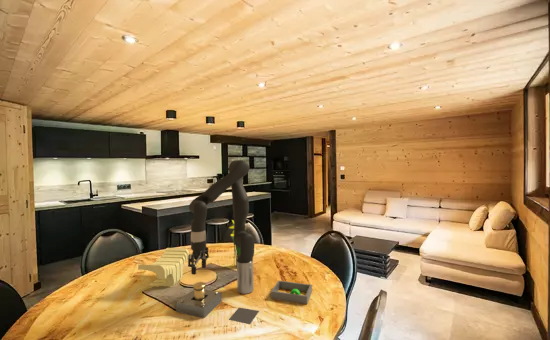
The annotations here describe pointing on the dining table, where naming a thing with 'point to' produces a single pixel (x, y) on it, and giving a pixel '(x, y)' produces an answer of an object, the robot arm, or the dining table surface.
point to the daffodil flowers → (235, 245)
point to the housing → (198, 304)
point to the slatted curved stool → (168, 267)
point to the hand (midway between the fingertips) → (199, 270)
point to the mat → (244, 315)
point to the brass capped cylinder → (199, 291)
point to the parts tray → (290, 296)
